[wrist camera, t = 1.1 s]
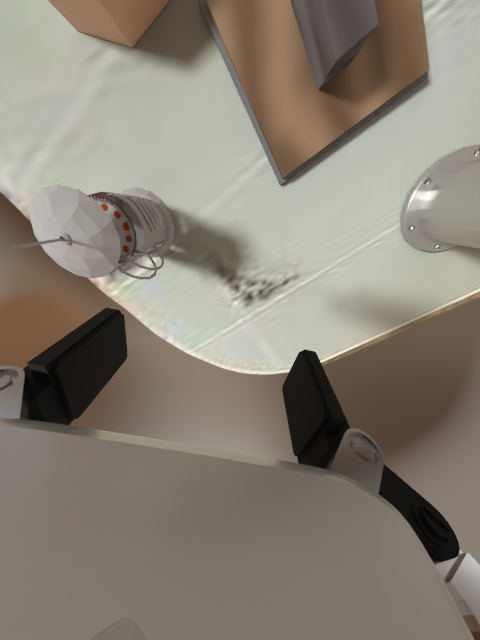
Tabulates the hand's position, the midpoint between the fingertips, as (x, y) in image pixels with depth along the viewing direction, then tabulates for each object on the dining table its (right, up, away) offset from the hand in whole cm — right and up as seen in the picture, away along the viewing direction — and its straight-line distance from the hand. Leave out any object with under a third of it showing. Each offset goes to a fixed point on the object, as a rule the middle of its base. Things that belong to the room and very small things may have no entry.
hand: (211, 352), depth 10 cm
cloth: (+10, +31, +10) cm, 34 cm away
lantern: (-13, +16, +20) cm, 29 cm away
